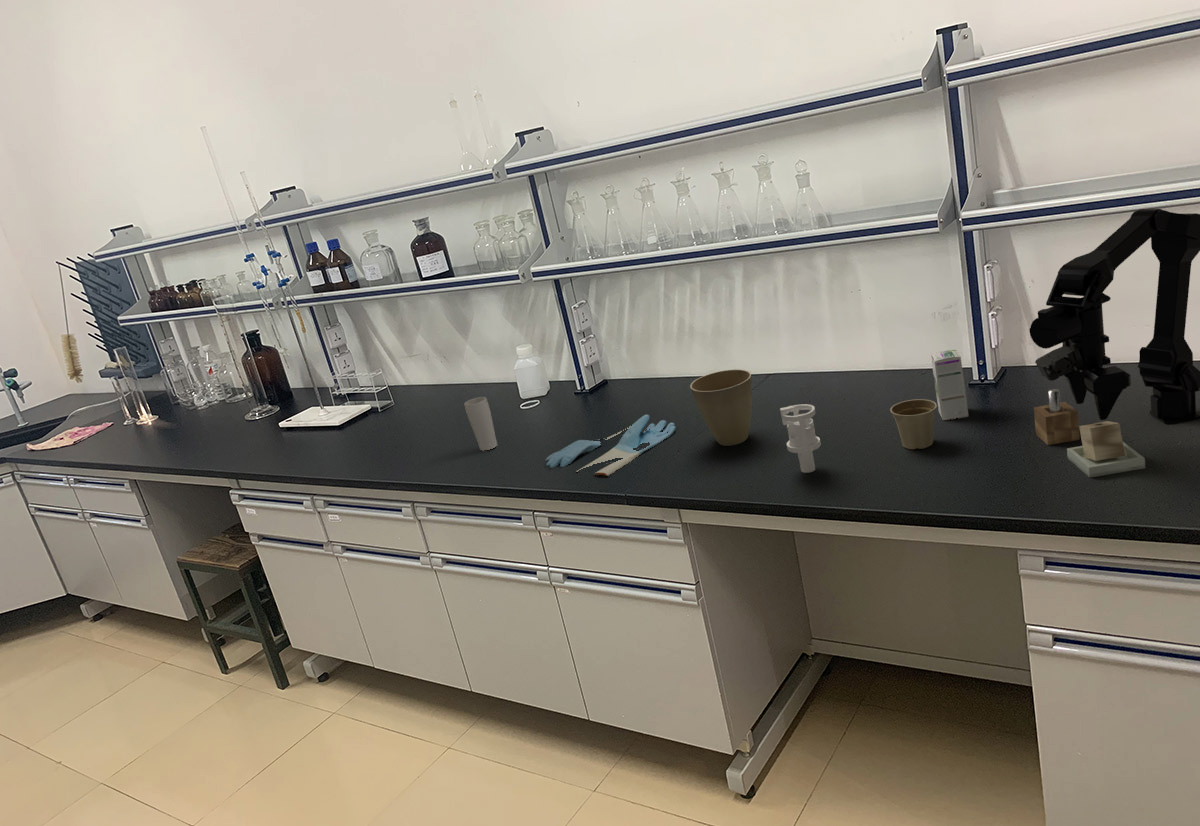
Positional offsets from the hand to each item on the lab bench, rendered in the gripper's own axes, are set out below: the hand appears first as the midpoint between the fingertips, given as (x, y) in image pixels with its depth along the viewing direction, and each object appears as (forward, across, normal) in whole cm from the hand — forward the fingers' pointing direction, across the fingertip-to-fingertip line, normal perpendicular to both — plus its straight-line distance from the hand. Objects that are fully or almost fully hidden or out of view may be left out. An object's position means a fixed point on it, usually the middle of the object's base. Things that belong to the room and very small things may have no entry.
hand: (1091, 411), depth 161 cm
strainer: (+9, -18, -51) cm, 55 cm away
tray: (+9, +4, 0) cm, 10 cm away
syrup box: (+9, -33, -16) cm, 38 cm away
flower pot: (+9, -20, -27) cm, 35 cm away
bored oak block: (+9, -11, -2) cm, 14 cm away
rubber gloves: (+9, -57, -97) cm, 113 cm away
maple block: (+7, +4, 0) cm, 9 cm away
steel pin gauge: (+9, -10, -2) cm, 14 cm away
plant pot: (+9, -44, -66) cm, 79 cm away
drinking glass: (+8, -76, -135) cm, 155 cm away
